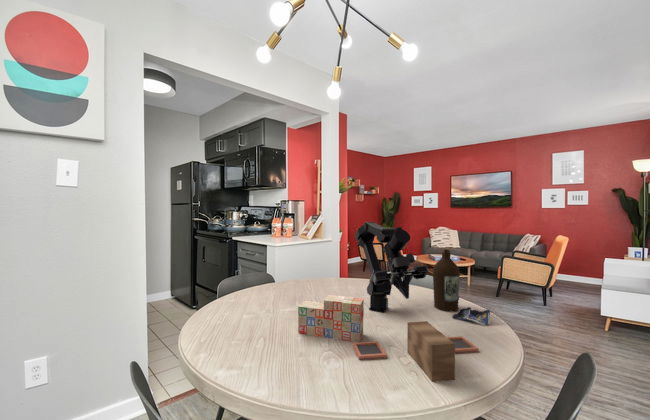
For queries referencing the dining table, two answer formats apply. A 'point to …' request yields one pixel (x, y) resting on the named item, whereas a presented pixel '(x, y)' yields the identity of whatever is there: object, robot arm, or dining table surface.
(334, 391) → the dining table surface
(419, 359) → the walnut brick
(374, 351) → the tile
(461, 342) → the tile
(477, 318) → the snack package
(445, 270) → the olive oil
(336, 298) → the stack of blocks
